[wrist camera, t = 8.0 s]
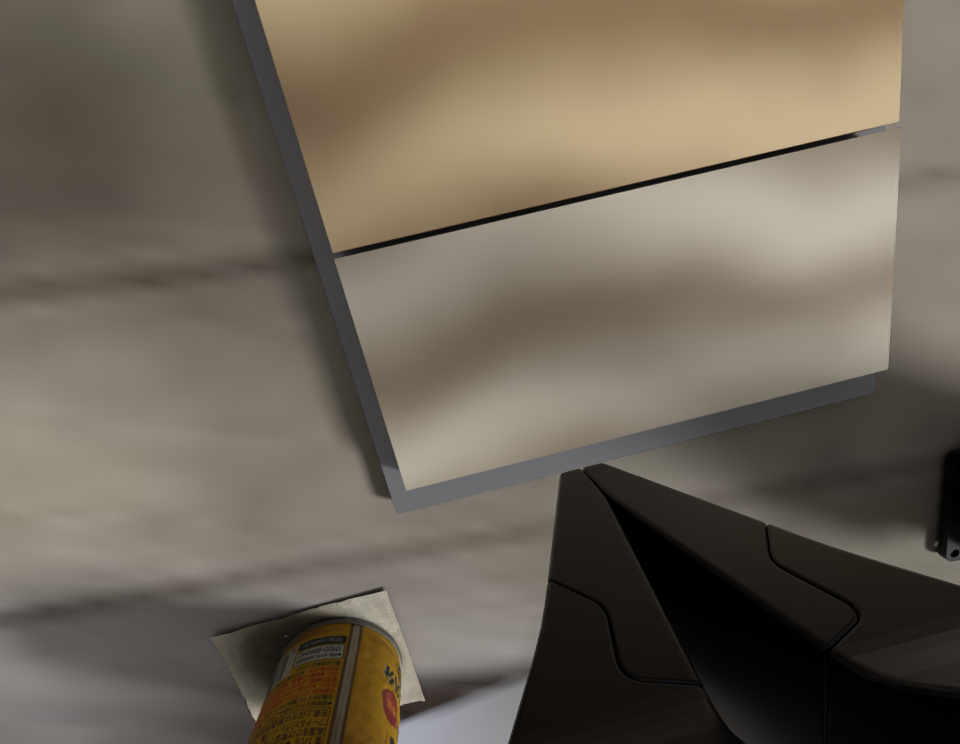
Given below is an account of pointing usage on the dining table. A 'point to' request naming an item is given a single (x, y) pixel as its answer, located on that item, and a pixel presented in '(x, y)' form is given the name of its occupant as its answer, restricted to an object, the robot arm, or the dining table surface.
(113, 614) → the dining table surface
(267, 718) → the condiment
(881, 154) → the loose plank
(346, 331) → the underlay mat
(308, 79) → the plank
